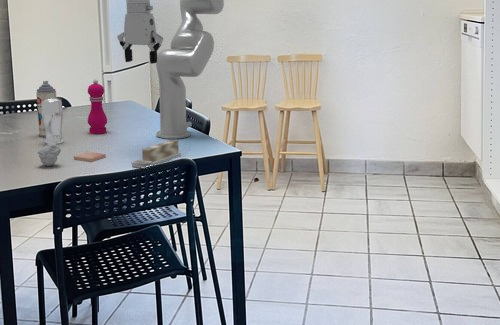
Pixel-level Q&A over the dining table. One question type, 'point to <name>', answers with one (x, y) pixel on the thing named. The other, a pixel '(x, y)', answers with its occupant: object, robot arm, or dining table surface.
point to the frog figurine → (49, 154)
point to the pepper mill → (96, 109)
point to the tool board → (161, 160)
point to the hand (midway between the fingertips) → (141, 62)
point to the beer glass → (52, 120)
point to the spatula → (157, 152)
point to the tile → (89, 156)
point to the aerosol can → (42, 93)
